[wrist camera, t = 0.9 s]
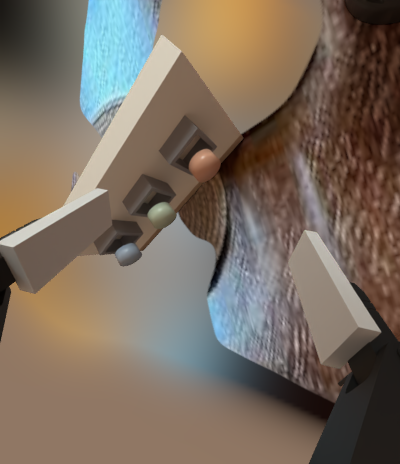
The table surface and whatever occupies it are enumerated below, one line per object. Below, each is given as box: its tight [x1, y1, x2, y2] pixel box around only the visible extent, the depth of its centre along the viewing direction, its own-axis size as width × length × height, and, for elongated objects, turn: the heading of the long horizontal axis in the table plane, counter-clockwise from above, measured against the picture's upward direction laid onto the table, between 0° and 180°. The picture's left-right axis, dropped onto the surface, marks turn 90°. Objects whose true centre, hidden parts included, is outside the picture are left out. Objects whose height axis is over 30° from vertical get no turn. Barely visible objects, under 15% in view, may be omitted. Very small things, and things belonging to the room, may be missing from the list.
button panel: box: [64, 35, 243, 256], centre depth 35 cm, size 11×34×20 cm, turn 130°
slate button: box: [115, 243, 142, 266], centre depth 34 cm, size 2×4×4 cm, turn 131°
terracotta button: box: [189, 149, 221, 183], centre depth 27 cm, size 2×4×4 cm, turn 130°
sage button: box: [147, 202, 176, 229], centre depth 31 cm, size 2×4×4 cm, turn 130°
